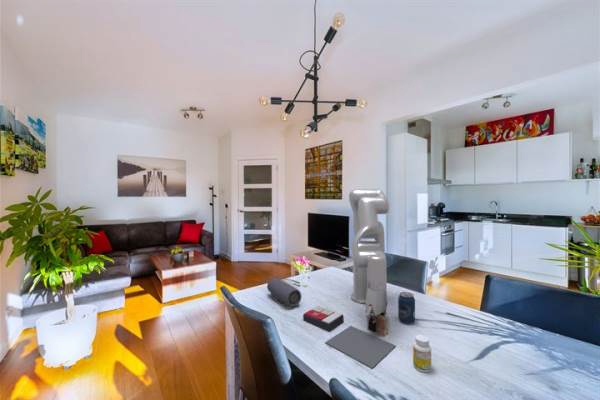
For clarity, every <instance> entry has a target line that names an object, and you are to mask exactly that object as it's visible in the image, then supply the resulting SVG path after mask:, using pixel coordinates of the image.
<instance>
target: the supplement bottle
mask: <svg viewBox="0 0 600 400" xmlns="http://www.w3.org/2000/svg"><path fill="white" fill-rule="evenodd" d="M414 340H415V341H414V342H413V344H412V347H413V348H412V350H413V353H412V354H413V355H412V357H413V359H412V360H413V364H412V365H413V366H414V368H415V369H416V370H417V371H420V372H422V373H430V372H431V371H432V347H431V345H430V339H429V337H427V336H426V335H424V334H423V335H422V334H417V335H415V339H414Z"/></svg>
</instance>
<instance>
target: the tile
mask: <svg viewBox="0 0 600 400" xmlns="http://www.w3.org/2000/svg"><path fill="white" fill-rule="evenodd" d="M372 314H374V313H373V312H372ZM385 316H386V315H385ZM385 316H383V315H380V314H379V315H377V317H376V321H375V322H376V333H375V334H378V335H380V336H382V337H387V336H388V335H389V334H388V333H389V330H388V329H389V317H388V316H386V317H385ZM371 317H372V318H374V316H373V315H371ZM366 320H367V321H366V322H367V323H366V329H367V330H369V321H368V319H367V318H366ZM369 331H370V330H369Z"/></svg>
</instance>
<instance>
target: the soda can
mask: <svg viewBox="0 0 600 400" xmlns="http://www.w3.org/2000/svg"><path fill="white" fill-rule="evenodd" d="M397 299H398V300H397V302H398V303H397V309H398V311H397V313H398V314H397V317H398V319H399V321H400V322H401V323H403V324H405V325H413V324H414V323H415V322H416V299H415V297H414V294H413V293H411V292H407V291H401V292H399V295H398V297H397Z"/></svg>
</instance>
